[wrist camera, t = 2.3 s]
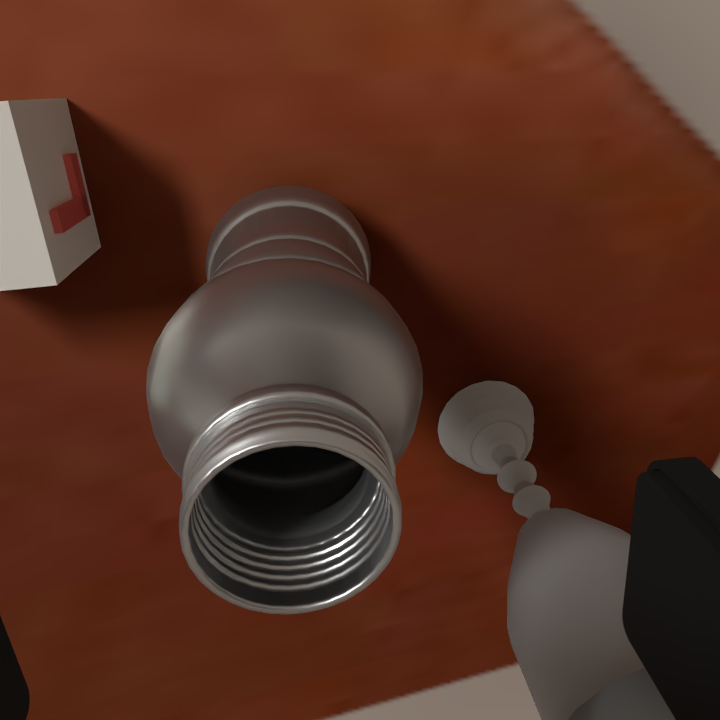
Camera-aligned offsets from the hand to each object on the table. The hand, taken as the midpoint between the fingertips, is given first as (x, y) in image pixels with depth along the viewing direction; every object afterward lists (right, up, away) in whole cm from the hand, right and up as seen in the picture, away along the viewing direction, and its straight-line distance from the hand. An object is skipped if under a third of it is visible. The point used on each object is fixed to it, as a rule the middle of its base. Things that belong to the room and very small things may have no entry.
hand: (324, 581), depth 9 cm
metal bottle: (-3, +8, +20) cm, 22 cm away
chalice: (+7, 0, +24) cm, 25 cm away
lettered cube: (-14, +11, +18) cm, 25 cm away
